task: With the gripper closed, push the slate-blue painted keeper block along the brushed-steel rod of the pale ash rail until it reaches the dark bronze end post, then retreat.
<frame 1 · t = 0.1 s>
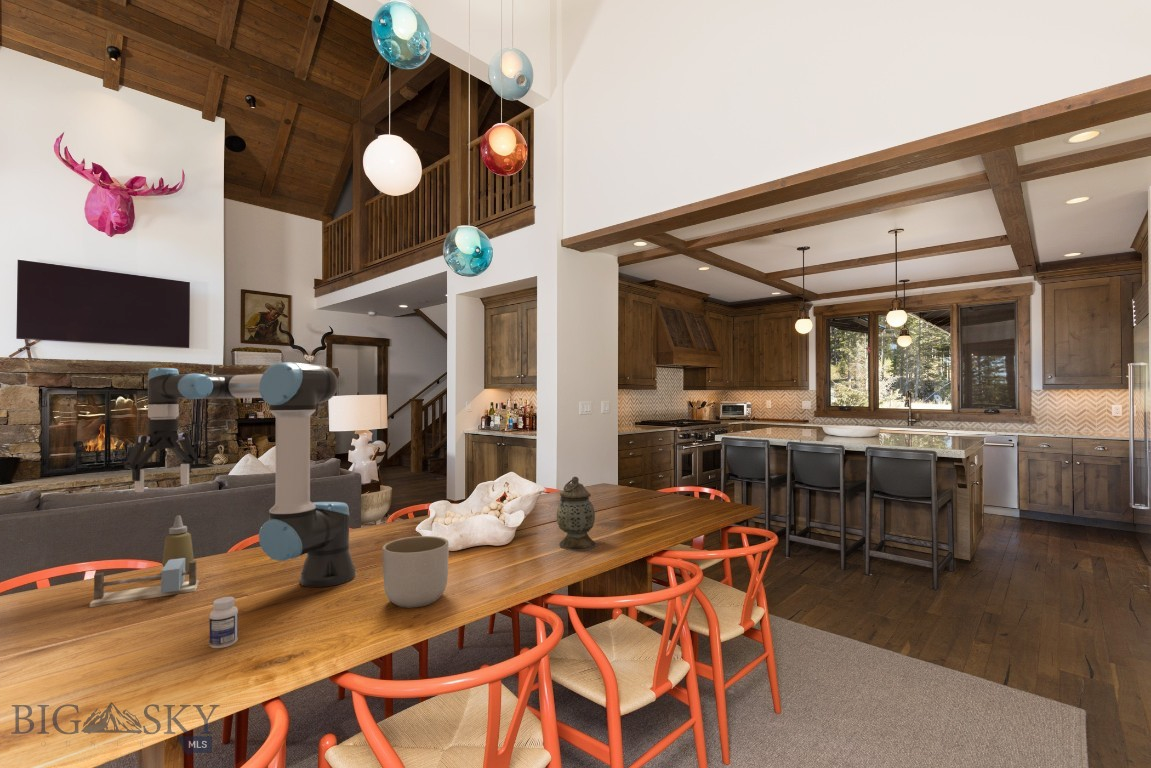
hand: (163, 488, 165), 28 cm above the table, fingers open, 13 cm apart
pill bottle: (223, 644, 121), on the table
rail: (147, 594, 152), on the table
lantern: (576, 545, 197), on the table
squeeze bottle: (178, 573, 171), on the table
keeper: (173, 574, 155), point 4 cm above the table, slide at -6.0 cm
planter: (416, 601, 145), on the table
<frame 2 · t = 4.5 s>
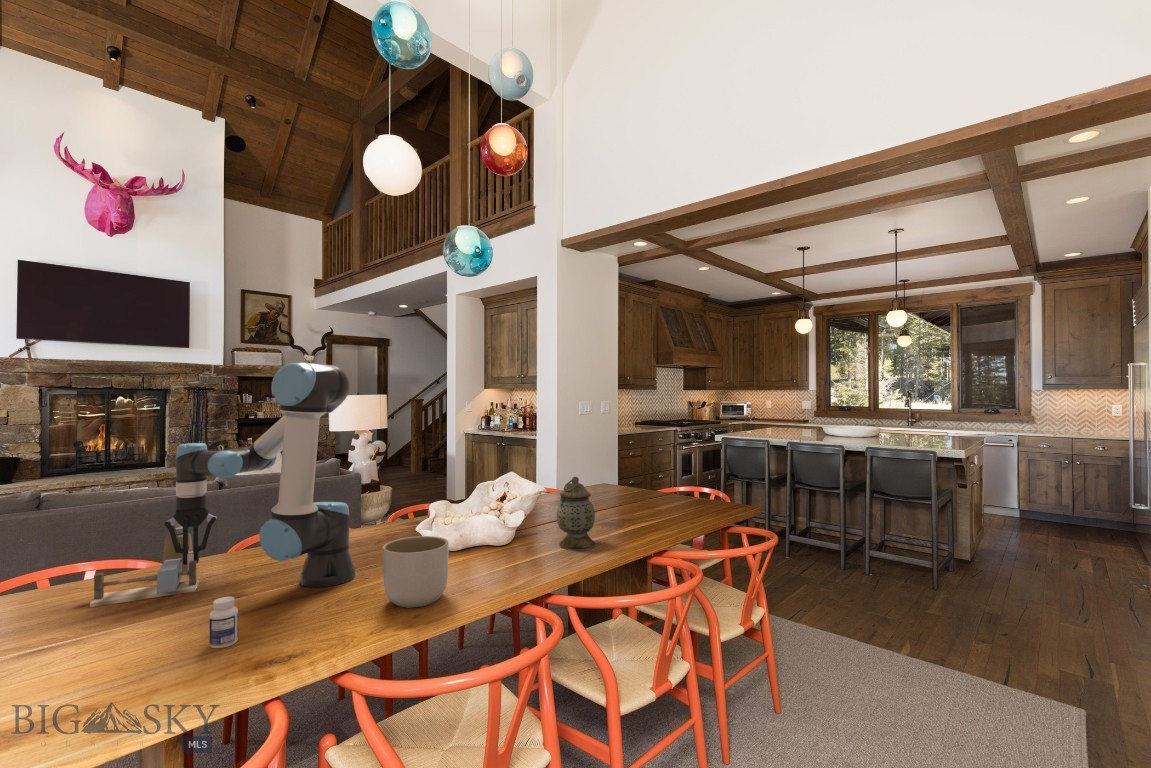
hand: (190, 574, 161), 3 cm above the table, fingers closed
keeper: (170, 575, 155), point 5 cm above the table, slide at -5.1 cm, touching gripper
everything else where it was.
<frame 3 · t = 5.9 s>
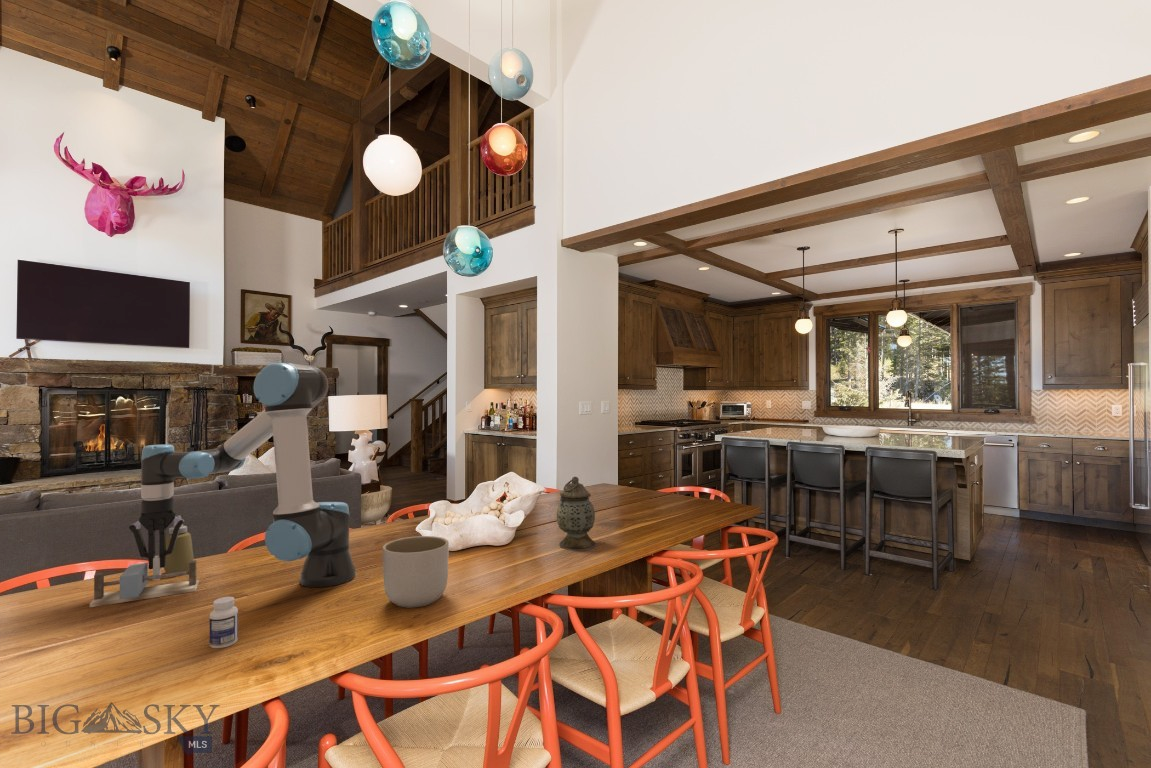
hand: (157, 579, 157), 3 cm above the table, fingers closed
keeper: (134, 580, 151), point 4 cm above the table, slide at 2.9 cm, touching gripper
everything else where it was.
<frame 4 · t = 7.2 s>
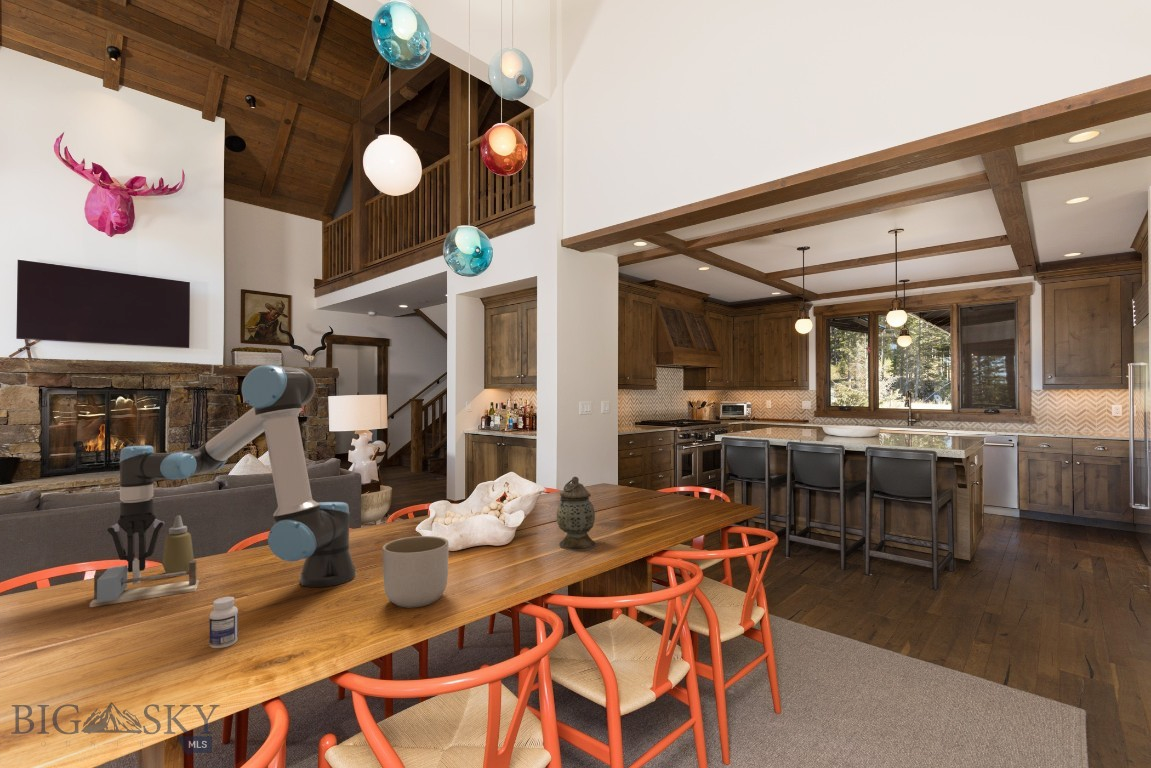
hand: (136, 582, 155), 3 cm above the table, fingers closed
keeper: (112, 583, 149), point 4 cm above the table, slide at 7.6 cm, touching gripper
everything else where it was.
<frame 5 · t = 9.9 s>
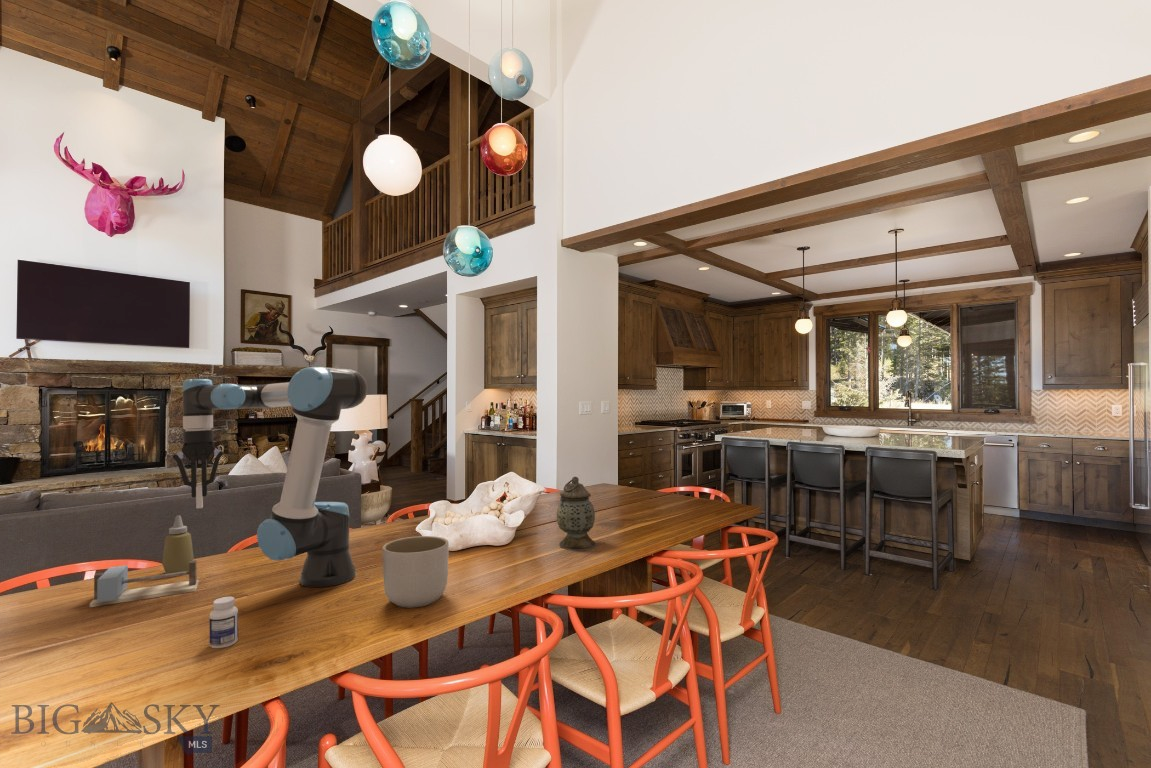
hand: (199, 507, 164), 22 cm above the table, fingers closed
keeper: (113, 583, 149), point 5 cm above the table, slide at 7.5 cm
everything else where it was.
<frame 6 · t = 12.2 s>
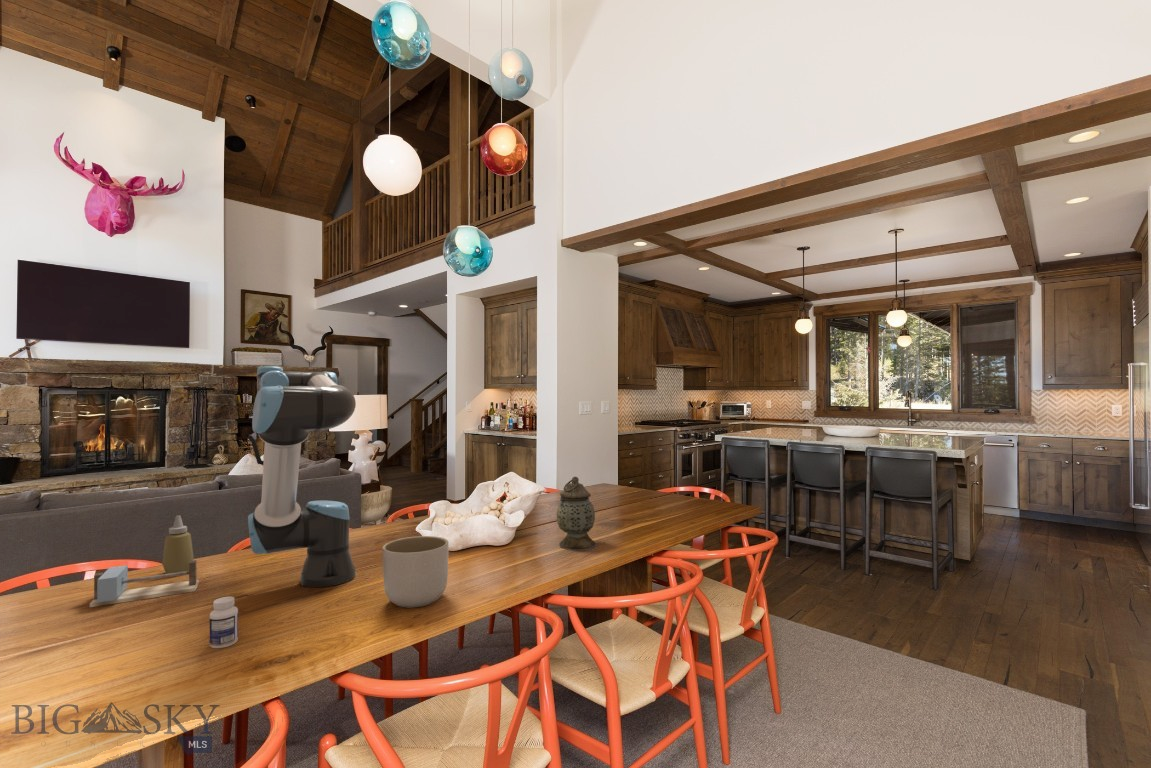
hand: (270, 485, 178), 26 cm above the table, fingers closed
nothing on the table moved.
at the end: keeper slide at 7.5 cm; the gripper is holding nothing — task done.
